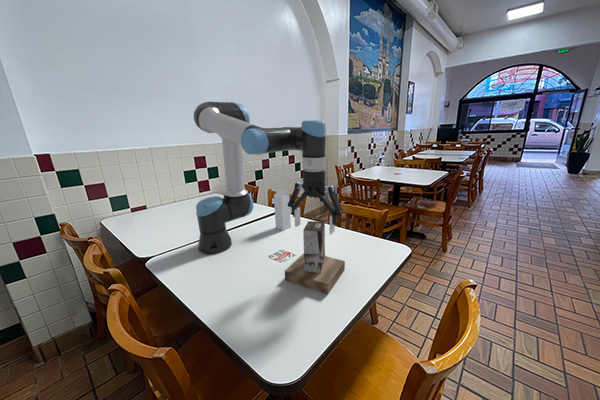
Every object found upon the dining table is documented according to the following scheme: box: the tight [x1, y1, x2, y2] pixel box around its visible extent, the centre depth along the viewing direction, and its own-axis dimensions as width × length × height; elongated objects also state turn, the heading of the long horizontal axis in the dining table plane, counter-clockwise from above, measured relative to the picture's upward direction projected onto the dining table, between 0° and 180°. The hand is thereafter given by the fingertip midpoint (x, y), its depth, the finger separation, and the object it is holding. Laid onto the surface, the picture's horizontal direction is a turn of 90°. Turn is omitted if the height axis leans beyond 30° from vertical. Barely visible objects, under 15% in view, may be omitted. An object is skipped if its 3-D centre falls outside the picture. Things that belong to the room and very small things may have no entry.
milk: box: [273, 188, 292, 232], centre depth 132 cm, size 6×6×22 cm
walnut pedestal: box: [284, 252, 346, 295], centre depth 91 cm, size 17×16×4 cm
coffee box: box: [302, 220, 326, 273], centre depth 88 cm, size 9×6×16 cm
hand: (314, 229), depth 86 cm, fingers open, 13 cm apart
